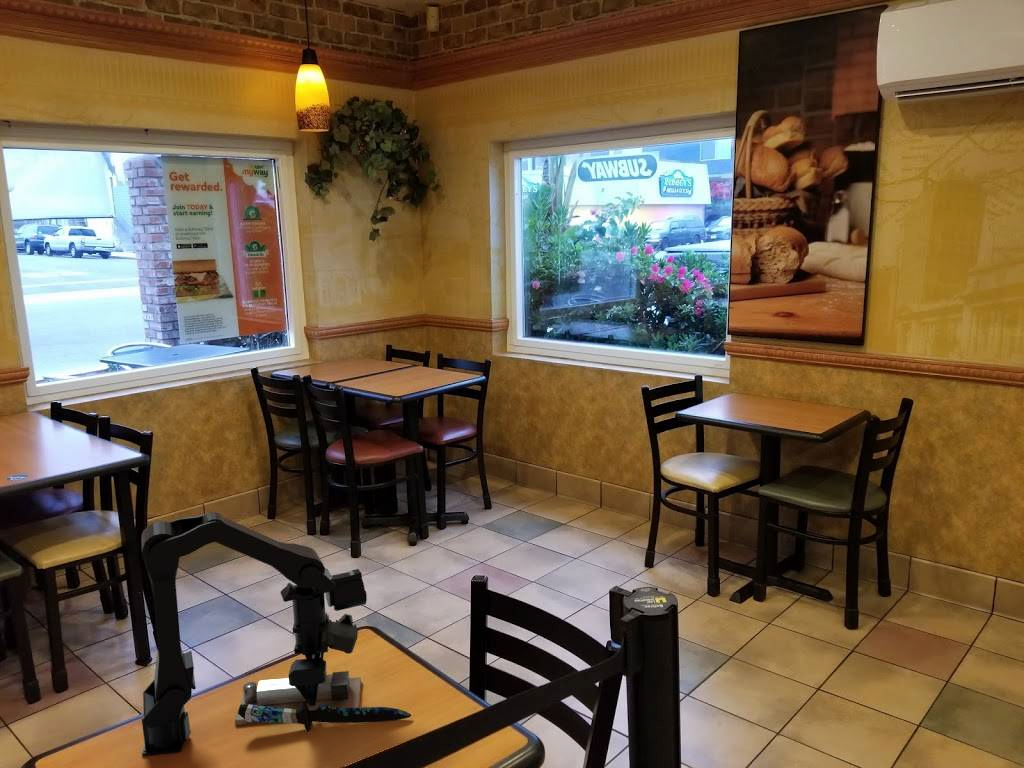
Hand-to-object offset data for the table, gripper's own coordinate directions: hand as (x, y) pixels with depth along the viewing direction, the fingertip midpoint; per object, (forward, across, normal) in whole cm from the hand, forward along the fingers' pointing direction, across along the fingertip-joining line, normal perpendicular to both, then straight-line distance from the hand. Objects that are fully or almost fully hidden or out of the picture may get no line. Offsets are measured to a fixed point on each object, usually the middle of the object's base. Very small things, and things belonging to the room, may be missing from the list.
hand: (315, 690), depth 146 cm
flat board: (+2, 0, +3) cm, 4 cm away
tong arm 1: (+1, -1, +2) cm, 3 cm away
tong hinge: (+1, 0, +12) cm, 12 cm away
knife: (+2, -8, -3) cm, 9 cm away
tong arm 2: (+1, +1, +2) cm, 3 cm away
